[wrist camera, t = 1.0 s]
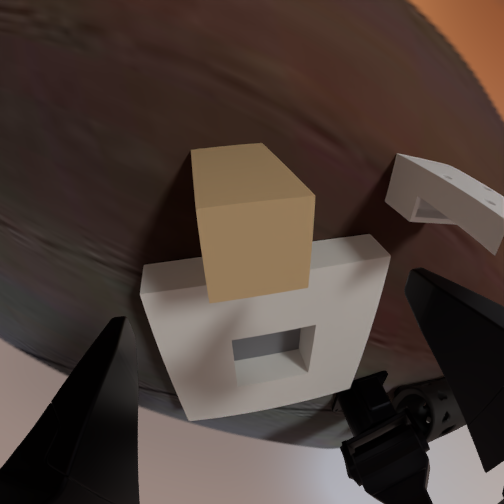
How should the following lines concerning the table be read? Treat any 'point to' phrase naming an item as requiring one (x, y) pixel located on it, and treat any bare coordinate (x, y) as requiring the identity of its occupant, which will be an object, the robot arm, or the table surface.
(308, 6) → the table surface
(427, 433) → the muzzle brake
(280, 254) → the plug
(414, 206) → the white angled block
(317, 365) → the socket plate
